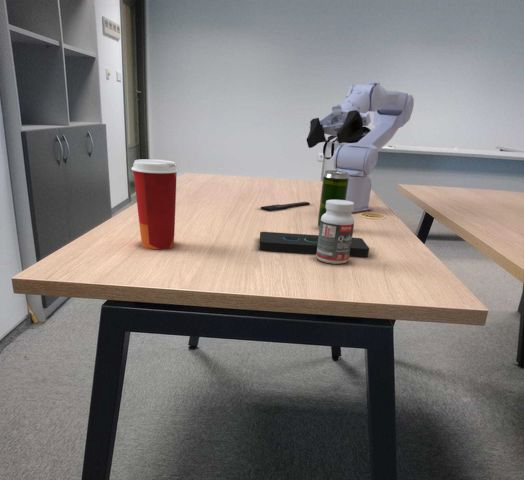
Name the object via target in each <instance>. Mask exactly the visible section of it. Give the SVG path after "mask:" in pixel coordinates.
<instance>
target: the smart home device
mask: <svg viewBox="0 0 524 480" xmlns="http://www.w3.org/2000/svg"><path fill="white" fill-rule="evenodd" d="M318 238H319V234H307V233H306V234H303V233H289V232H275V231H259V245H258V246H259V247H258V248H259V249H258V251H264V252H280V253H294V254H295V253H296V254H309V255H310V254H311V255H316V253H317V246H318ZM369 252H370V247H369V246H368V244H367V243H366V241H365V240H364V239H363V238H361V237H353V236H352V240H351V247H350V254H349V257H357V258H368V257H369Z"/></svg>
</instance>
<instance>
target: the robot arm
mask: <svg viewBox="0 0 524 480" xmlns="http://www.w3.org/2000/svg"><path fill="white" fill-rule="evenodd" d="M414 104H415V99H414V96H413V94H409V93H407V92H404V91H403V92H402V91H398V90H386V89H385V87H383V86H382V85H381V83H380V82H366V83H365V84H359V83H356V84H351V85H350V87H349V90H348V93H347V95H346V96H345V98H344V100H343V101H342V103H340V104H334V105H332V106H331V112H330V113H328V114H327V115H325V116H324V117H322V118H321V119H320V118H319V117H315V118H312V119H311V120H310V121H309V132H308V135H307V137H306V144H307V147H308V149H311V148H314V147H316V146H317V145H318V144H320V143H326V142H327V139H326V138H327V137H326V135H328V136H332V137H337V141H338V144H339V145H338V146H337V148H336V149H335V151H334V154H333V158H332V164H333V168H334V170H335V171H344V172H348V177H349V180H348V187H347V194H346V201H351V202H353V203H354V210H353V211H352V212H351V214H353V213H358V212H363V211H364V212H365V211H369V210H371V209H372V208H371V207H369V206H370V205H369V204H370V198H371V192H372V180H371V177H369V175H370V174H372V173H373V172H374V169H375V167H376V165H377V163H378V159H379V151H380V150H381V149H383V147H385V146H386V144H388V143H389V142H390V141H391V140H392V139H393V137H394V136H395V135H396V134H397V132H398V130H399V129H401V128H402V127H404V126H405V125H406V124H407V123H408V122H409V121H410V120H411V118H412V117H411V116H412V113H413V111H414ZM370 112H373V115H372V120H371V115H370ZM370 123H372V126H374V128H372V130H370V131H369V132H368V133H366V135H364V136H363V134H364V127H367V126H369V125H370ZM359 137H361V139H359V140H358V141H357V142H351V143H350V142H349V143H346V144H344V143H345V142H347V141H349V140H351V139H353V138H359ZM343 144H344V145H343Z"/></svg>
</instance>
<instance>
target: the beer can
mask: <svg viewBox="0 0 524 480" xmlns="http://www.w3.org/2000/svg"><path fill="white" fill-rule="evenodd" d="M348 180H349V177H348V172H344V171H337V170H335V169H334V170H331V169H327V170H324V173H323V177H322V185H321V192H320V201H319V202H320V203H319V210H318V211H319V212H318V219H317V228H318V230H319V229H320V221H321V217H322V215H323V214H325V213H326V208H325V207H326V201H327V200H346V194H347V187H348Z"/></svg>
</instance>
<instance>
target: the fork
mask: <svg viewBox="0 0 524 480" xmlns="http://www.w3.org/2000/svg"><path fill="white" fill-rule="evenodd" d="M305 206H310V202H308V201H300V202H293V203H286V204H285V203H283V204H279V203H277V204H272V205H271V204H270V205H264V206H260V210H264V211H267V212H273V211H280V210H287V209H290V208H295V207H296V208H297V207H305Z"/></svg>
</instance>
